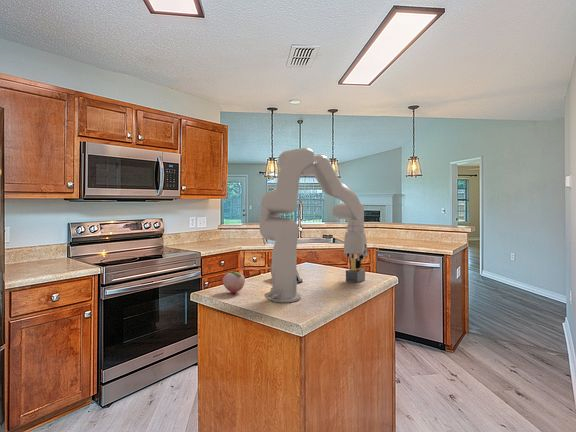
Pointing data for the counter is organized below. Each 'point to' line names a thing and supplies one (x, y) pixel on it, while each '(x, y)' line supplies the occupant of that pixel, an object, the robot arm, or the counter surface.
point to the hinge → (297, 276)
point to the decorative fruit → (233, 281)
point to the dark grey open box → (355, 275)
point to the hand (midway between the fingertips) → (355, 267)
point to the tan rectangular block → (354, 264)
